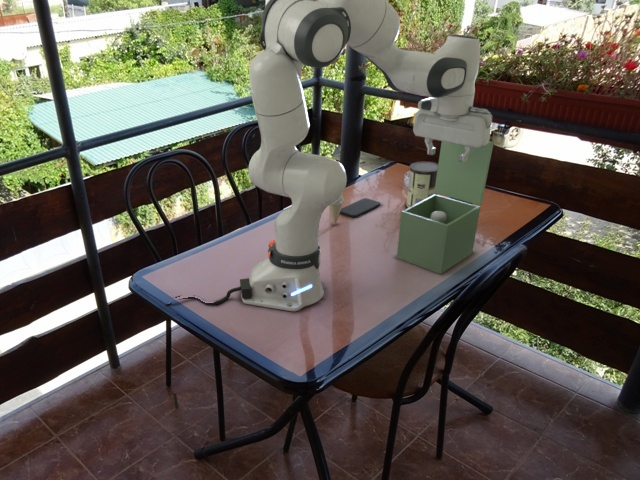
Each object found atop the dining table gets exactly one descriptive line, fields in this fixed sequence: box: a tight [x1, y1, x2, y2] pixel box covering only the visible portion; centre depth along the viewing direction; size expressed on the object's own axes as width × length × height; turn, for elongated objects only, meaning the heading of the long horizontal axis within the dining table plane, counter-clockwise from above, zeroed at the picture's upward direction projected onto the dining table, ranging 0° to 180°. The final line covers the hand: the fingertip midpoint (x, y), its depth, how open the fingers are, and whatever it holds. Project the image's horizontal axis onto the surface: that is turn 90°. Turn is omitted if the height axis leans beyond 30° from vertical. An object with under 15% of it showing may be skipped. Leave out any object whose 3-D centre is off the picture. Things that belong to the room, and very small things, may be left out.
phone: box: [339, 198, 381, 218], centre depth 195 cm, size 7×1×15 cm
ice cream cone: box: [328, 194, 344, 225], centre depth 183 cm, size 5×5×15 cm
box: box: [396, 194, 481, 275], centre depth 160 cm, size 17×15×15 cm
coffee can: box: [406, 161, 439, 208], centre depth 191 cm, size 10×10×14 cm
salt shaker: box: [430, 211, 447, 223], centre depth 160 cm, size 6×6×13 cm
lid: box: [434, 140, 495, 206], centre depth 157 cm, size 18×15×5 cm
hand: (446, 157), depth 148 cm, fingers open, 8 cm apart
